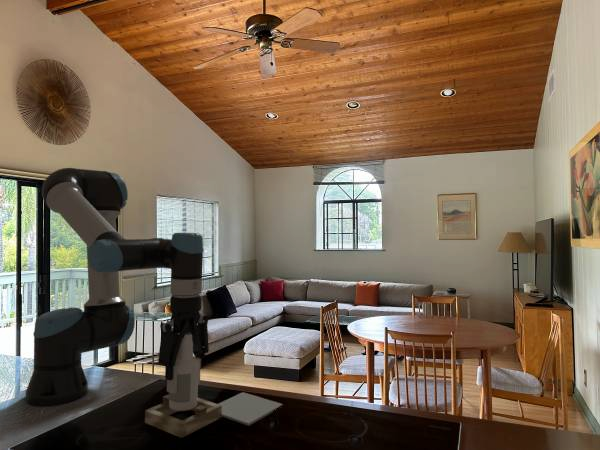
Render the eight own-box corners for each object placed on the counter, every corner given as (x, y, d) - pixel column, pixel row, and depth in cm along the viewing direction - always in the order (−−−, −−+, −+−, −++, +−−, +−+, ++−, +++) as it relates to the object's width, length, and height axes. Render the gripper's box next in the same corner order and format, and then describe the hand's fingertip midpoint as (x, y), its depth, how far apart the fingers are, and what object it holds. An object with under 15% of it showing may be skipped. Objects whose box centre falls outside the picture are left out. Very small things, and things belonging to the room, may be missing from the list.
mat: (207, 411, 114) (207, 408, 114) (242, 394, 126) (242, 392, 126) (248, 425, 106) (248, 423, 106) (282, 406, 118) (282, 404, 118)
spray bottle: (167, 402, 111) (169, 331, 110) (194, 398, 113) (196, 329, 113) (170, 413, 104) (172, 338, 104) (199, 409, 107) (201, 335, 107)
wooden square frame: (144, 422, 107) (144, 404, 107) (185, 404, 118) (185, 387, 118) (182, 438, 99) (182, 418, 99) (222, 417, 110) (222, 399, 110)
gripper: (163, 302, 98) (161, 404, 98) (225, 291, 115) (222, 379, 115) (142, 298, 102) (140, 396, 102) (204, 288, 119) (202, 373, 119)
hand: (183, 387), depth 109 cm, fingers closed on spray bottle, 7 cm apart
